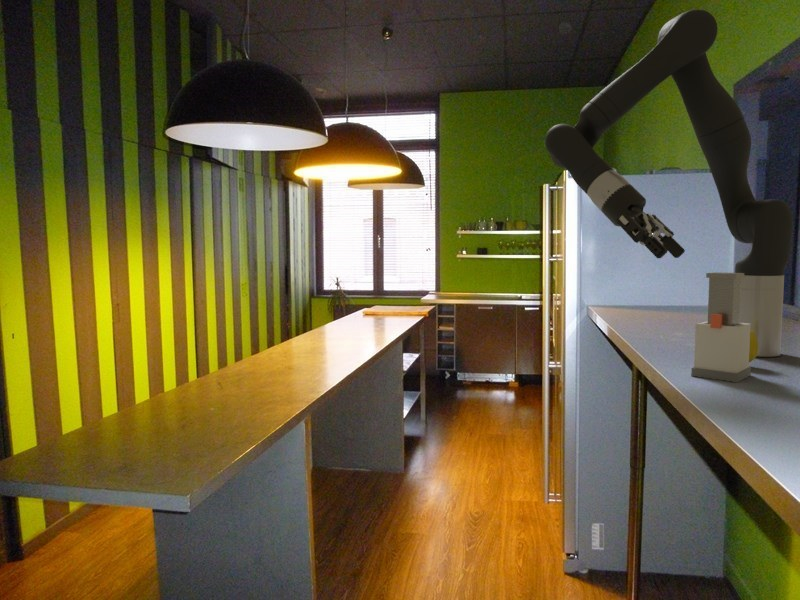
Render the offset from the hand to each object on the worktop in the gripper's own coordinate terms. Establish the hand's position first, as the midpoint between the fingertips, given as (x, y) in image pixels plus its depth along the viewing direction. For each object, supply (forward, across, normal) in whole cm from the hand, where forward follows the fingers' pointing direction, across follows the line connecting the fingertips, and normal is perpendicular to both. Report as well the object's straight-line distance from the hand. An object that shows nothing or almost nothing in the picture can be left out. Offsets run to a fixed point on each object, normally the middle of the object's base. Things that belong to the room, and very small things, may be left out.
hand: (672, 255), depth 113 cm
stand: (+22, 0, +9) cm, 24 cm away
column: (+21, 0, +8) cm, 22 cm away
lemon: (+22, +12, +9) cm, 27 cm away
